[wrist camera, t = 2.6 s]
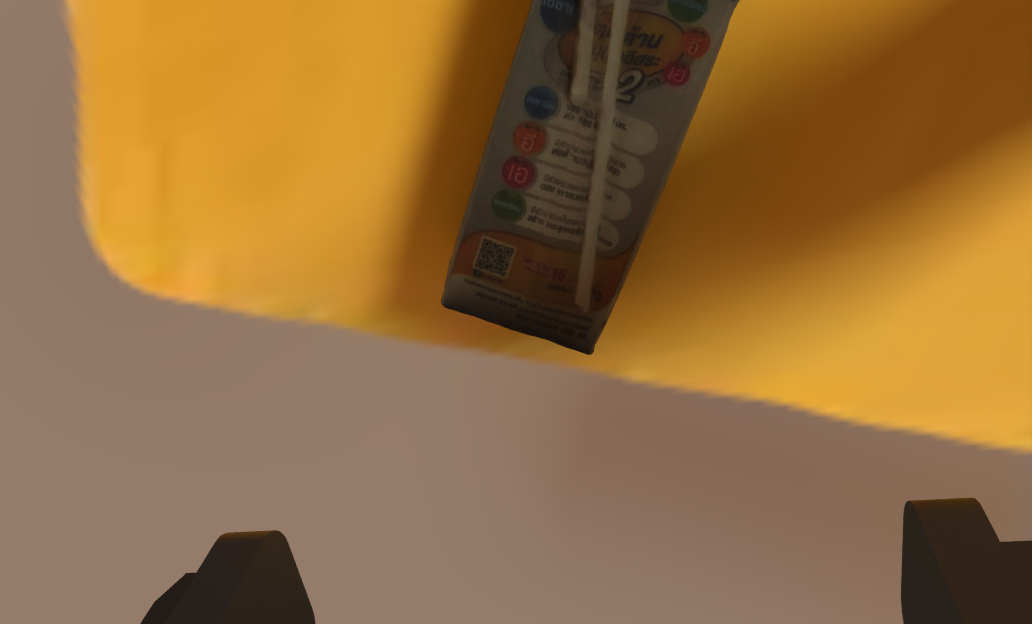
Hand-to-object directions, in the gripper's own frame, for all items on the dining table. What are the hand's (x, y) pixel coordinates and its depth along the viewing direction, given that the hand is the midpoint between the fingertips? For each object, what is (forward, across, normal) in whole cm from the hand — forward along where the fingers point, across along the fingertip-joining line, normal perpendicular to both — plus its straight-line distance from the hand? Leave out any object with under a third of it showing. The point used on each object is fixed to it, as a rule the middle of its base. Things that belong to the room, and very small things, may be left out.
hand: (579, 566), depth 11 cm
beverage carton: (+33, +2, +2) cm, 33 cm away
